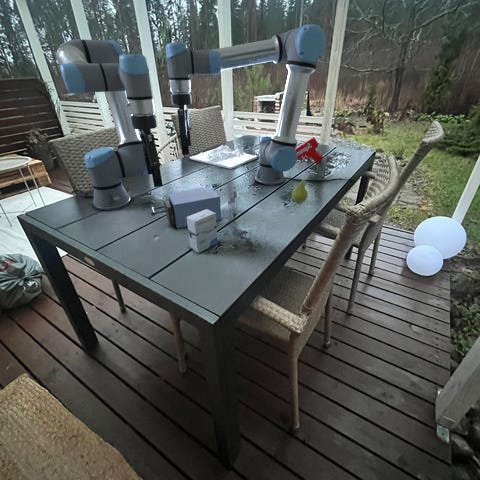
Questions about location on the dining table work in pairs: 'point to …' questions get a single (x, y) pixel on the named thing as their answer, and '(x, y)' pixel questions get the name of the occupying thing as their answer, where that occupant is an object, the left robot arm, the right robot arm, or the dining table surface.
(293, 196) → the fruit
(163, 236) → the dining table surface
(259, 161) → the right robot arm
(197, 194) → the cabinet
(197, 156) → the relief map
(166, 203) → the drawer
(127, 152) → the left robot arm
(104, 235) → the dining table surface
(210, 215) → the ink box
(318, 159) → the toy gun
